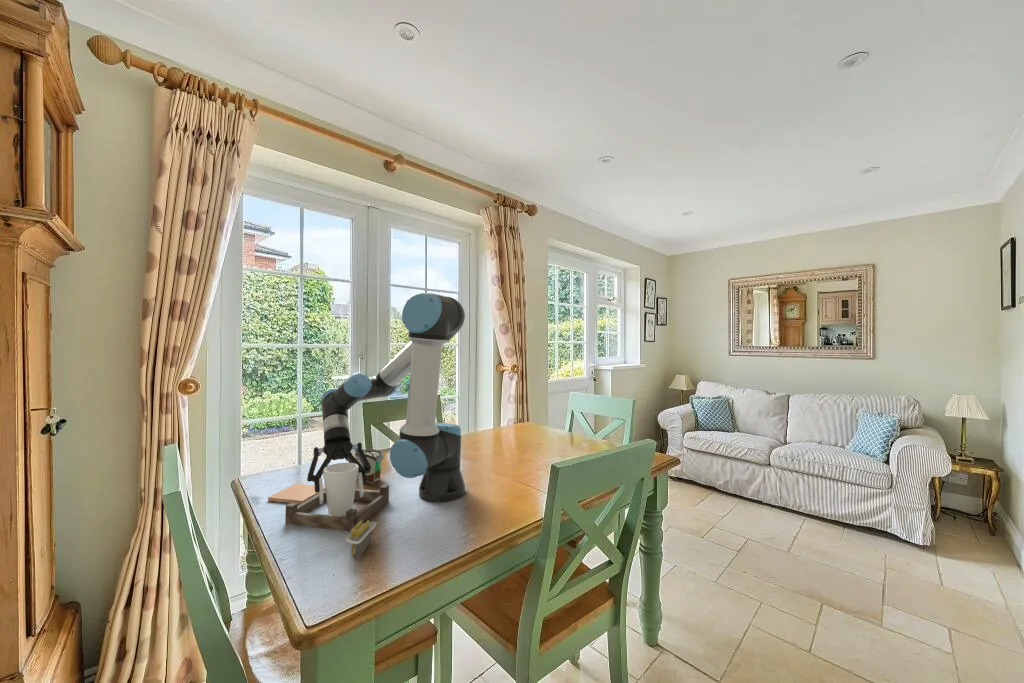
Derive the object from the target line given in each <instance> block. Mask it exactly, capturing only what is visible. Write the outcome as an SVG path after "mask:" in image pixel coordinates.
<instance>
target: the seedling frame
mask: <svg viewBox="0 0 1024 683" xmlns="http://www.w3.org/2000/svg"><path fill="white" fill-rule="evenodd" d="M389 494H390V485H388V484H382V485H380V487H379V490H375V489H374V490H372V489H364V495H363V497H360V492H359V488H355V495H354V500H355V501H365V502H370V503H368V504H367V505H366V506H365V507H363V508H361V509H360V510H358V509H356V508H352V509H349V510H348V511H346V515H345V516H330V515H329V514H319V513H310V512H311V511H313V510H315V509H317V508H318V507H320V506H321V505H322V504H320V500H319V494H317V495H316V496H314V497H312V498H310V499H309V500H307V501H305V502H304V503H302V504H297V503H287V504H286V505H285V522H284V523H285V525H290V524H292V526H293V525H294V526H301V527H308V526H309V527H310V528H318V529H327V530H328V529H329V530H335V529H336V530H337V531H344V532H345V531H346V532H351V530H352V529H353V528H354V527H355V526H356V525H357V524H358V523H359V522H360V521H361V520H362V524H363V523H365V521H366V522H367V520H369V518H371V517H372V516H373V515H374V514H375V513H376V512H378V511H379V510H380V509H381V508H382V507H383V506H385V505H386V504H387V503H388V502H389V500H390V499H389V498H390V495H389ZM325 501H326V502H327V497H326V490H324V491H323V504H324V503H325ZM317 506H318V507H317ZM314 508H315V509H314ZM312 509H313V510H312ZM309 511H310V512H309Z"/></svg>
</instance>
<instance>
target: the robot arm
mask: <svg viewBox="0 0 1024 683" xmlns="http://www.w3.org/2000/svg"><path fill="white" fill-rule="evenodd" d="M465 317H466V313H465V309H464V307H463V305H462V304H461V303H460V302H459V301H458V300H457V299H455V298H453V297H450V296H445V295H440V294H437V293H431V292H418V293H415V294H413V295H411V296H410V297H409V298H408V299H407V300H406V301H405V303H404V305H403V307H402V310H401V322H402V324H403V325H404V327H405V328H404V329H406V330H407V338H408V339H409V342H408V344H406V345H405V346H404V348H402V349H401V350H400V351H399V352H398V353H397V354H396V355H395V356H394V357H393V358H392V359H391V360H390V361H389V362H388V363H387V364H386V365H385V366H384V367H383V368H382V369H380V370H379V372H378V373H377V374H376V375H374V376H368V375H366V374H365V373H362V372H355V373H353V374H352V375H350V376H349V377H348V378H346V379H345V381H344V382H343V383H342V384H341V385H339V387H338V388H337V387H333V388H330V389H329V390H325V391H324V392H323V393H322V395H321V404H320V405H321V414H322V426H323V427H322V428H323V439H324V440H323V441H324V442H323V443H324V444H323V445H324V446H323V447H318V446H315V447H314V448H313V454H312V455H313V458H312V460H311V462H310V466H309V469H308V473H307V478H306V481H307V482H313V485H314V486H315V492H319V500H320V504H321V505H323V504H324V503H323V486H324V485H323V470H324V468H325V467H327V466H329V465H330V463H331V462H332V460H333V461H337V460H345V461H346V462H347V463H355V464H357V465H358V466H359V469H358V473H359V474H358V479H357V481H358V482H357V483H358V489H359V492H360V497H363V495H364V490H365V489H364V486H366V483H367V482H366V473H369V472H370V470H371V466H370V464H369V462H368V460H367V458H366V456H365V454H364V452H363V450H364V449H363V446H362V445H363V444H362V443H361V442H358V443H356V444H353V443H352V442H351V434H350V426H349V416H348V415H349V414H348V411H349V410H350V409H351V408H353V407H354V406H355V405H356V404H357V403H359V402H362V401H367V400H371V399H377V398H385V397H388V396H391V395H393V394H394V393H395V392H396V390H397V389H398V384H399V383H401V381H403V380H404V378H406V377H407V376H408V375H409V381H408V395H407V405H406V415H405V416H406V417H405V423H404V424H403V425H402V426H401V427H400V428H399V436H398V439H397V440H396V441H395V442H393V444H392V445H391V447H390V450H389V460H390V463H391V466H392V467H393V468H394V469H395V471H396V473H397V474H399V475H400V476H402V477H403V478H406V479H414V478H418V477H420V476H422V477H421V480H420V484H419V487H418V496H419V498H421V499H422V498H423V500H425V501H428V500H429V501H428V502H434V501H444V502H451V501H454V500H458V499H460V498H462V497H463V496H465V494H466V483H465V481H464V480H465V479H464V478H463V475H462V471H461V452H462V451H461V448H462V447H461V446H462V435H461V433H462V429H461V427H460V425H458V424H455V423H449V422H446V423H445V422H436V417H437V406H438V405H437V404H438V396H439V385H440V371H441V361H442V351H443V345H445V344H446V343H448V342H449V341H450V340H451V339H453V337H454V336H455V335H457V334H458V333H459V331H460V330H461V329H462V327H463V325H464V322H465V320H466V318H465ZM352 450H353V451H354V452H357V455H358V457H359V459H360V461H361V463H362V465H363V466H362V465H361V464H360V463H359V462H358V461H357V460H356V456H355V455H353V453H352ZM322 454H324V455H326V456H325V458H324V460H323V462H322V464H321V466H320V467H319V469H318V470H317V472H316V473H315V471H316V469H317V468H316V467H317V464H318V461H319V457H321V455H322ZM363 467H364V468H363ZM314 473H315V474H314ZM464 493H465V494H464ZM461 496H462V497H461ZM457 498H458V499H457Z"/></svg>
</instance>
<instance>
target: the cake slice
mask: <svg viewBox="0 0 1024 683" xmlns="http://www.w3.org/2000/svg"><path fill="white" fill-rule="evenodd" d="M362 450H363V452H364V454H365V456H366V458H367V460H368V462H369V464H370V466H371V470H370V472H369V473H366V483H369V484H371V485H375V484H379V482H380V480H381V471H382V461H383V460H384V459H385V457H384V453H383V451H382V450H380V449H374V448H366V449H362ZM354 452H355V451H354ZM354 457H355V459H356V460H357V461H358V462H359V463H360V464H361V465H362V463H361V461H360V459H359V457H358V455H357V452H355V453H354ZM362 466H363V465H362ZM363 468H364V467H363ZM358 474H359V473H358ZM357 480H358V476H357Z"/></svg>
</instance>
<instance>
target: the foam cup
mask: <svg viewBox="0 0 1024 683" xmlns="http://www.w3.org/2000/svg"><path fill="white" fill-rule="evenodd" d="M358 469H359V466H358V465H357V464H355V463H349V462H339V463H334V464H328V466H327V467H325V468H324V470H323V475H322V479H324V480H323V481H324V486H325V489H326V497H327V501H326V504H327V509H328V510H327V512H328V515H331V516H340V517H346V511H348V510H349V509H354V508H353V507H354V495H355V489H357V483H358V482H357V481H358V479H357V476H358Z"/></svg>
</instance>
